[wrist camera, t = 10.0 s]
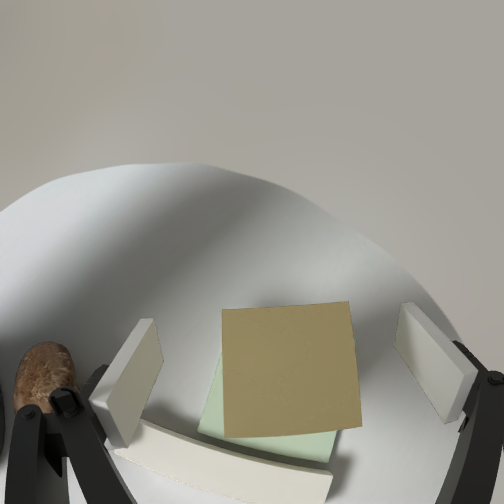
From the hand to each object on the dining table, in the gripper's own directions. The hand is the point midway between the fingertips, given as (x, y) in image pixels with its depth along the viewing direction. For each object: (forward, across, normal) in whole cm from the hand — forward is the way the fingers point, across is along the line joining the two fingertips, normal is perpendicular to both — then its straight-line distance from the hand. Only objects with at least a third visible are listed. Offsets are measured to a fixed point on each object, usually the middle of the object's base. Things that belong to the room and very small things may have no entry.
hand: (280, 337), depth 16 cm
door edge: (-1, -4, -10) cm, 11 cm away
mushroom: (+2, -17, -7) cm, 19 cm away
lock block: (+2, 0, -6) cm, 6 cm away
